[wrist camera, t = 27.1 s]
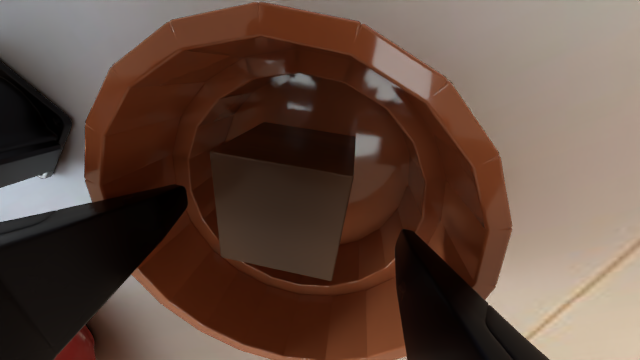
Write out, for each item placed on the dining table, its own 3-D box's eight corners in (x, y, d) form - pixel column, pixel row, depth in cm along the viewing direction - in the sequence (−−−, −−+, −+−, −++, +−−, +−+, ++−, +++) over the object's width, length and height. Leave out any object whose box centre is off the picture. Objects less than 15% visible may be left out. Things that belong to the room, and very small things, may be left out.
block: (263, 199, 14) (220, 257, 10) (263, 121, 12) (208, 151, 8) (340, 214, 14) (331, 281, 10) (356, 136, 12) (354, 176, 7)
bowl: (174, 157, 15) (39, 220, 9) (318, -33, 10) (241, -227, 3) (311, 279, 18) (285, 391, 12) (480, 186, 12) (601, 301, 6)
